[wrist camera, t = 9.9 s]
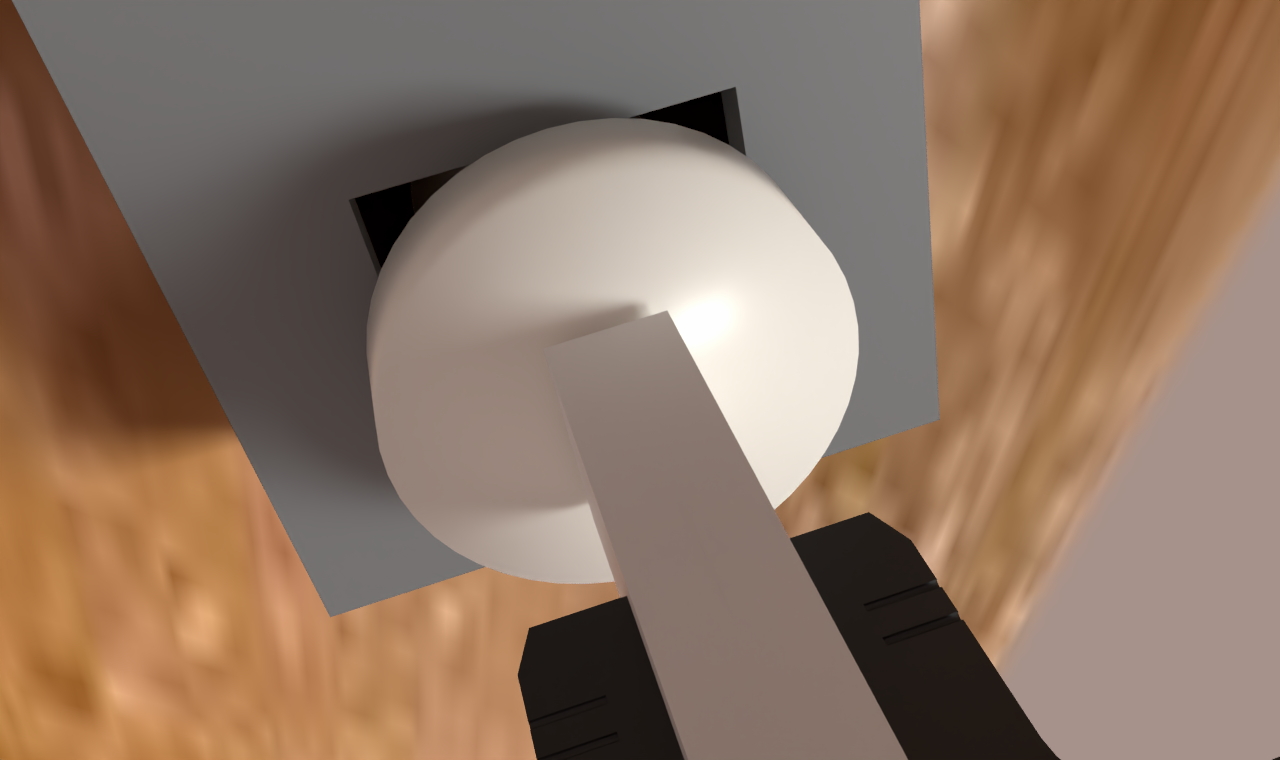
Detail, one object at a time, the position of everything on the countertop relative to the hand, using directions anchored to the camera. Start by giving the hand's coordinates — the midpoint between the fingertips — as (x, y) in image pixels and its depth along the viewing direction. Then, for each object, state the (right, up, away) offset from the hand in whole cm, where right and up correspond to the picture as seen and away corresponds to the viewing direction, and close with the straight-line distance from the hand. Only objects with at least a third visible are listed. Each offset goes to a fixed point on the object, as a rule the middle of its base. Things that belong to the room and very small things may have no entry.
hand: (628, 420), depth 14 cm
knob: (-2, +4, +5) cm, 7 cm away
